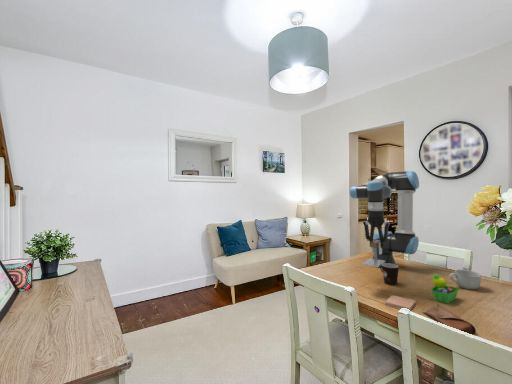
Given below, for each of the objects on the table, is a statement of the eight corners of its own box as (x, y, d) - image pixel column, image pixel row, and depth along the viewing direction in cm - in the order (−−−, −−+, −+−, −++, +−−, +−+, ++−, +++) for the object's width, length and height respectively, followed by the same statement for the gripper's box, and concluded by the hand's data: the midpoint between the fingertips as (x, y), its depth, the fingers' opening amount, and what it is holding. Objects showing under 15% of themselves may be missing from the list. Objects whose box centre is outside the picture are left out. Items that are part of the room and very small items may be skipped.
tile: (391, 295, 126) (385, 301, 119) (415, 300, 119) (409, 308, 112) (392, 298, 126) (385, 305, 119) (415, 304, 119) (409, 312, 112)
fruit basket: (449, 305, 116) (448, 280, 116) (427, 298, 124) (427, 275, 124) (459, 299, 122) (459, 275, 122) (438, 293, 130) (438, 270, 130)
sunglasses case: (419, 311, 111) (427, 298, 111) (433, 319, 111) (440, 305, 111) (454, 335, 93) (463, 318, 93) (470, 344, 93) (479, 327, 93)
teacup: (475, 284, 139) (474, 270, 139) (486, 292, 129) (485, 276, 129) (444, 282, 144) (444, 268, 144) (453, 289, 133) (452, 274, 133)
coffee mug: (401, 286, 140) (401, 268, 140) (384, 285, 142) (384, 267, 142) (394, 279, 151) (394, 262, 151) (378, 278, 153) (378, 261, 153)
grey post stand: (372, 257, 145) (371, 239, 145) (387, 260, 140) (387, 240, 140) (361, 264, 133) (361, 243, 133) (377, 267, 128) (377, 245, 128)
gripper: (358, 210, 142) (359, 252, 142) (389, 211, 131) (391, 257, 131) (363, 209, 147) (364, 250, 148) (394, 210, 137) (395, 254, 137)
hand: (376, 253), depth 139 cm, fingers closed on grey post stand, 3 cm apart
